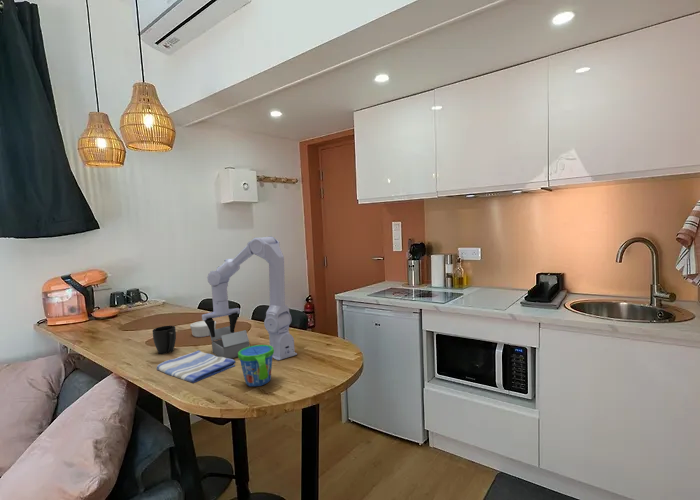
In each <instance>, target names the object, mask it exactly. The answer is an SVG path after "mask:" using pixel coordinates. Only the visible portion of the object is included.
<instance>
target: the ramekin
mask: <svg viewBox="0 0 700 500" xmlns="http://www.w3.org/2000/svg"><path fill="white" fill-rule="evenodd" d="M214 321H215V323H214V329H217V328H216V325H217V321H216V320H214ZM189 327H190V329H191V334H192V336H193V337H195V338H205V337H209V336H210V334H209V331H210V330H209V328H208V326H207V324H206V323H205V321H204V320H199V321H196V322H193V323H190V324H189Z"/></svg>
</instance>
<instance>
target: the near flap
mask: <svg viewBox="0 0 700 500" xmlns="http://www.w3.org/2000/svg"><path fill="white" fill-rule="evenodd" d="M234 332H235V333H231V334H227V335H222V336H221V338H222V342H223V346H224V348H225V347H229V346H233V345H236V344H240V343H244V342H250V341H249V336H248V333H247V332H248V331H247V330H246V329H245V330H240V331H234Z"/></svg>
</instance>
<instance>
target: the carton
mask: <svg viewBox="0 0 700 500" xmlns="http://www.w3.org/2000/svg"><path fill="white" fill-rule="evenodd" d="M250 346H251V345H250V341H248V342H244V343H240V344H236V345H233V346H229V347H225V348H224V346H223V342H222V339H219V340H215V341H212V340H211V348H212V349H211V350H212V355H215V356H216V357H224V358H229V359H235V358H238V352H239V351H240V350H241V349H244V348H246V347H250Z"/></svg>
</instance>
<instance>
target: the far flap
mask: <svg viewBox="0 0 700 500" xmlns="http://www.w3.org/2000/svg"><path fill="white" fill-rule="evenodd" d="M214 330H215V337H211V333H210V331H209V334H210V339H211V342H212V341H216V340H220V339H222V338H221V336H222V335H227V334H231V333H232V332H231V331H230V325H228V326H223V327H219V328H215V329H214ZM235 332H236V331H234V333H235Z"/></svg>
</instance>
